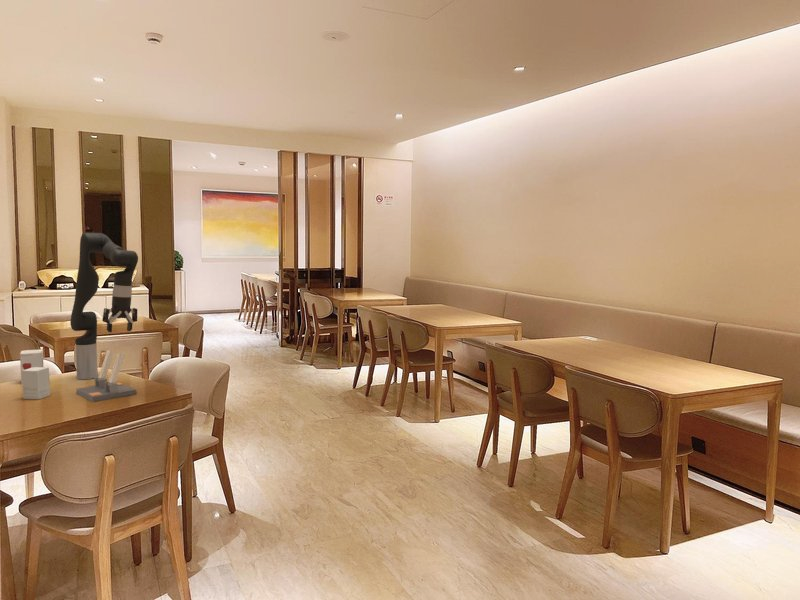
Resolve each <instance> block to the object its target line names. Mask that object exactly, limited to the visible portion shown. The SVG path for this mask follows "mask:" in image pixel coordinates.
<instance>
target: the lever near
mask: <svg viewBox="0 0 800 600" xmlns="http://www.w3.org/2000/svg"><path fill="white" fill-rule="evenodd" d="M125 356H126V355H125V354H122V353H119V352H118V353H117V355H116V357H115V361H114V364H113V367H112V370H111V373H110V375H109V378H108V380H107V382H108V383H107V386H108V387H109V384H114V383H116V382H117V380H118V378H119V374H120V372H121V368H122V365H123V362H124V359H125V358H126V357H125Z"/></svg>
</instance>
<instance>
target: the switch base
mask: <svg viewBox="0 0 800 600" xmlns="http://www.w3.org/2000/svg"><path fill="white" fill-rule="evenodd" d="M97 379H98V377H96V378H94V385H92V386H86V387H80V388H76V391H75V392H76V394H77V395H79V396H81V397H82V398H84V399H86V400H89V401H90V402H92V403H93V402H100V401H105V400H111V399H115V398H122V397H127V396H133V394H134V395H137V389H135V388H134V387H131V386H128V385H126V384H124V383H121V382H119V381H118V382H117V381H116V383H114V384H109V387H108V386H107V383H108V378H105V379H100V380H99V382H97Z"/></svg>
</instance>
